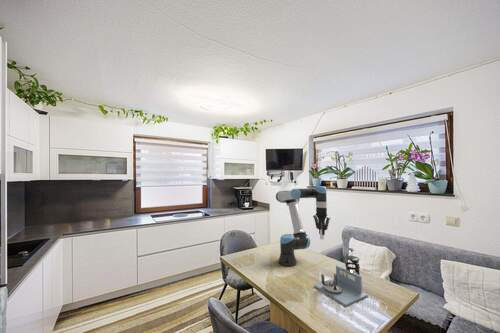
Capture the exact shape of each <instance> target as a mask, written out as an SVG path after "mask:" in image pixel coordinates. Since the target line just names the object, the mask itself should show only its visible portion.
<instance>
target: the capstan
mask: <svg viewBox="0 0 500 333" xmlns="http://www.w3.org/2000/svg"><path fill="white" fill-rule="evenodd" d="M333 278H334V280H333V281H330V279H328V280H329V281H327V280H325V274H324V273H322V274H321V282H322V284H323V288H324V290H326V291H327V292H330V293H334V294H339V293H342V292H343V286H342V285H341V284H340V283H338V282H337V274H336V273H333Z"/></svg>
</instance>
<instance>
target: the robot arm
mask: <svg viewBox="0 0 500 333" xmlns="http://www.w3.org/2000/svg"><path fill="white" fill-rule="evenodd" d="M301 199H315V206H316V207H315V212H316V213H315V214H314V215H313V216H312V217H313V218H314V222H315V228H316V229H317V230H318V234H319V239H320V240H324V238H325V234H326V231H327V230H328V228H329V223H330V220H331V217H330V216H328V214H327V213H328V212H327V211H328V209H327V206H328V205H327V187H326V186H321V185H319V186H318V185H317V186H316V187H315V188H314V187H309V188H293V189H290V190H280V191H277V192H276V194H275V200H276V201H277V202H279V203H283V204H284V203H285V204H286V206H287V207H288V210H289V214H290V219H291V223H292V228H293V233H286V234H282V235H281V236H280V241H279V243H280V247H279V248H280V255H279V258H278V264H279V265H281V266H283V267H295V266H296V265H297V257H296V256H295V251H296V250H305V249H308V248H309V247H310V245H311V238H310V235H309V234H307V232H306V231H304V226H303V223H302V217H301V214H300V211H299V207H298V206H299V203H300V201H301Z"/></svg>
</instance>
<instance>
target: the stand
mask: <svg viewBox="0 0 500 333" xmlns="http://www.w3.org/2000/svg"><path fill="white" fill-rule="evenodd" d="M351 271H352V270H350V271H349V270H346V268H344V267H342V266H340V265H338V264H337V265H335V274H337V282H338V283H340V284H341V285H342V286H343V292H342V293H339V294H334V293H330V292H327V291H326V290H324V288H323V284H322V281H321V282H318V283H315V284H314V285H313V287H314V288H316V289H317V290H318V291H320V292H322V293H323V294H326V295H327V296H329V297H330V298H331V299H333V300H335V301H336V302H338V303H339V304H340V305H343V306H344V307H349V306H350V305H354V304H355V303H357V302H360V301H361V300H362V301H363V299H367V298H368V296H369V295H368V294H367V293H365V292H363V287H362V284H363V283H362V276H361V274H360V275H357V274H355V273H353V272H351ZM329 280H330V281H333V280H334V277H333V278H330V279H327V280H326V281H329Z"/></svg>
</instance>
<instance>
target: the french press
mask: <svg viewBox="0 0 500 333" xmlns="http://www.w3.org/2000/svg"><path fill="white" fill-rule="evenodd" d="M348 250H349V251H350V252H351V253H353V251H356V249H355V248H348ZM344 258H345V261H347V260H349V262H345V269H346V270H349V271H351V272H353V273H355V274H357V275H360V276H361V274H360V269H361V266H360V262H359V261H360V257H358V256H355V255H345V257H344ZM349 265H351V266H349ZM353 266H354V267H353Z"/></svg>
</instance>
